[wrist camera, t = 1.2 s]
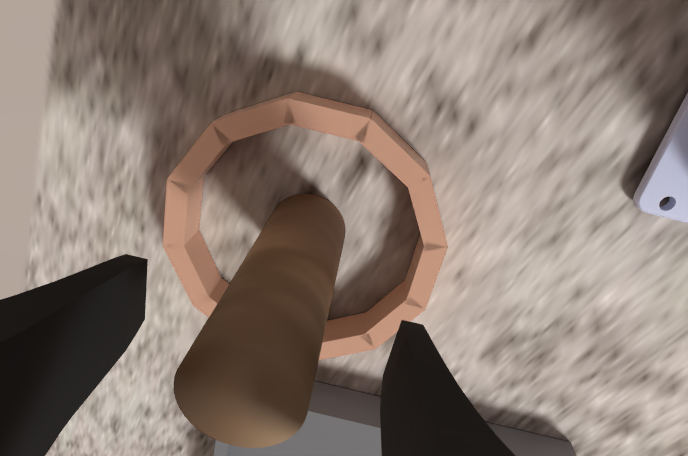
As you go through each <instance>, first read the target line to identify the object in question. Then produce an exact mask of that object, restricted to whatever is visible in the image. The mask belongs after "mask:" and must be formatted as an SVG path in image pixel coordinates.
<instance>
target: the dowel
mask: <svg viewBox="0 0 688 456" xmlns="http://www.w3.org/2000/svg"><path fill="white" fill-rule="evenodd" d="M344 238H345V223H344V220H343V217H342V215H341V214H340V212H339V210H338V209H337V208H336V207H335V206H334V205H333V204H332V203H331V202H329V201H328V200H326V199H325V198H322V197H320V196H317V195H313V194H297V195H293V196H290V197H288V198H286V199H285V200H283V201H282V202H281V203H280V204H279V205H278V206H277V207H276V208H275V210H274V212H273V213H272V215H271V217H270V218H269V220H268V222H267V223H266V225H265V226H264V228H263V230H262V231H261V233H260V235H259V236H258V238H257V240H256V241H255V243H254V245H253V246H252V248H251V249H250V251H249V253H248V254H247V256H246V258H245V259H244V261H243V263H242V264H241V266H240V267H239V269H238V271H237V272H236V274H235V276H234V277H233V279H232V281H231V282H230V284H229V285H228V287H227V289H226V290H225V292H224V294H223V295H222V297H221V299H220V300H219V302H218V304H217V305H216V307H215V308H214V310H213V312H212V313H211V315H210V317H209V318H208V320H207V322H206V323H205V325H204V326H203V328H202V330H201V331H200V333H199V335H198V336H197V338H196V340H195V341H194V343H193V345H192V346H191V348H190V349H189V351H188V353H187V354H186V356H185V358H184V359H183V361H182V363H181V364H180V366H179V368H178V369H177V372H176V374H175V378H174V394H175V398H176V401H177V404H178V406H179V408H180V410H181V411H182V413H183V414H184V416H185V417H186V418H187V419H188V420H189V421H190V422H191V423H192V424H193V425H194V426H195V427H196V428H197V429H199V430H200V431H201V432H203V433H204V434H206V435H208V436H209V437H211V438H213V439H215V440H217V441H220V442H223V443H225V444H229V445H232V446H238V447H245V448H261V447H268V446H273V445H276V444H279V443H281V442H283V441H285V440H287V439H289V438H290V437H292V436H293V435H294V434H295V433H296V432H298V430H299V429H300V428H301V427H302V425H303V423H304V421H305V419H306V416H307V413H308V408H309V403H310V399H311V394H312V389H313V385H314V380H315V375H316V370H317V366H318V361H319V356H320V352H321V347H322V342H323V337H324V333H325V328H326V323H327V319H328V314H329V309H330V304H331V300H332V295H333V290H334V286H335V281H336V276H337V271H338V267H339V262H340V257H341V252H342V248H343V243H344Z"/></svg>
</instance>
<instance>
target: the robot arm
mask: <svg viewBox="0 0 688 456" xmlns="http://www.w3.org/2000/svg"><path fill="white" fill-rule="evenodd" d="M665 197H670V199H669V202H668V203H667V204H666V205H664V206H659V204H660V201H661V200H662V199H663V198H665ZM633 201H634V204H635V206H636V207H637V208H638V209H640V210H641V211H643V212H645V213H649V214H653V215H657V216H661V217H665V218H670V219H674V220H678V221H682V222H686V223H688V93H687V95H686V96H685V98H684V100H683V102H682V104H681V106H680V108H679V110H678V112H677V114H676V116H675V117H674V119H673V121H672V123H671V125H670V127H669V129H668V131H667V133H666V135H665V136H664V138H663V140H662V142H661V144H660V146H659V148H658V150H657V152H656V154H655V156H654V157H653V159H652V161H651V163H650V165H649V167H648V169H647V171H646V173H645V175H644V176H643V178H642V180H641V182H640V184H639V186H638V188H637V190H636V192H635V194H634V197H633ZM147 260H148V259H144V258H140V257H135V256H131V255H127V254H125V255H122V256H119V257H116V258H113V259H111V260H108V261H106V262H103V263H101V264H98V265H95V266H93V267H90V268H88V269H86V270H83V271H80V272H78V273H75V274H73V275H70V276H68V277H65V278H63V279H60V280H57V281H55V282H52V283H49V284H46V285H43V286H40V287H38V288H35V289H32V290H29V291H26V292H23V293H20V294H18V295H15V296H11V297H8V298H5V299H2V300H0V456H45V455H46V453H47V452H48V450H49V449H50V447H51V446H52V444H53V443H54V441H55V440H56V438H57V437H58V435H59V434H60V432H61V431H62V429H63V428H64V427H65V425H66V424H67V423H68V421H69V420H70V419H71V417H72V416H73V415H74V413H75V412H76V411H77V410H78V409H79V407H80V406H81V405H82V404H83V402H84V401H85V400H86V399H87V398H88V396H89V395H90V394H91V393H92V391H93V390H94V389H95V388H96V387H97V385H98V384H99V383H100V382H101V380H102V379H103V378H104V377H105V376H106V374H107V373H108V372H109V371H110V369H111V368H112V367H113V366H114V364H115V363H116V362H117V361H118V359H119V358H120V357H121V356H122V354H123V353H124V352H125V351H126V349H127V348H128V346H129V345H130V343H131V341H132V340H133V338H134V337H135V335H136V333H137V332H138V330H139V328H140V326H141V325H142V323H143V321H144V320H145V303H146V281H147ZM380 426H381V453H382V456H515V455H514V454H513V452H512V451H511V450H510V449H509V448H508V447H507V446H506V445H505V444H504V443H503V442H502V441H501V440H500V438H499V437H498V436H497V435H496V434H495V433H494V431H493V430H492V429H491V428H490V427H489V425H488V424H487V423H486V422H485V421H484V419H483V418H482V417H481V416H480V414H479V413H478V412H477V411H476V409H475V408H474V407H473V405H472V404H471V402H470V401H469V400H468V398H467V397H466V395H465V394H464V393H463V391H462V390H461V388H460V387H459V385H458V384H457V382H456V381H455V379H454V377H453V376H452V374H451V373H450V371H449V369H448V368H447V366H446V364H445V363H444V361H443V359H442V358H441V356H440V354H439V352H438V351H437V349H436V347H435V345H434V343H433V342H432V340H431V338H430V336H429V334H428V333H427V331H426V329H425V327H424V326H423V325H422V324H417V323H413V322H409V321H405V320H401V323H400V326H399V329H398V332H397V335H396V338H395V341H394V344H393V347H392V350H391V353H390V356H389V359H388V362H387V365H386V368H385V371H384V374H383V380H382V390H381V402H380Z"/></svg>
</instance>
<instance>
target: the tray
mask: <svg viewBox="0 0 688 456" xmlns="http://www.w3.org/2000/svg"><path fill="white" fill-rule="evenodd" d="M380 402H381V397H379V396H375V395H371V394H366V393H362V392H358V391H354V390H350V389H346V388H341V387H337V386H333V385H329V384H325V383H320V382H316V381H314V385H313V389H312V394H311V399H310V403H309V408H308V413H307V416H306V419H305V421H304V423H303V425H302V427H301V428H300V429H299V430H298V432H296V433H295V434H294V435H293V436H292V437H290V438H289V439H287V440H285V441H283V442H281V443H279V444H276V445H273V446H268V447H261V448H245V447H238V446H232V445H229V444H225V443H223V442H220V441H217V440H216V441H215V448H214V454H213V456H382V453H381V426H380ZM486 423H487V424H488V425H489V427H490V428H491V429H492V430H493V431H494V433H495V434H496V435H497V436H498V437H499V438H500V440H501V441H502V442H503V443H504V444H505V445H506V446H507V447H508V448H509V449H510V450H511V451H512V452H513V454H514V455H515V456H576V454H575V451H574V449H573V447H572V444H571V442H567V441H563V440H559V439H555V438H550V437H546V436H542V435H538V434H534V433H529V432H525V431H521V430H517V429H513V428H509V427H504V426H500V425H496V424H492V423H488V422H486Z"/></svg>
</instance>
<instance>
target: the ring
mask: <svg viewBox="0 0 688 456" xmlns="http://www.w3.org/2000/svg"><path fill="white" fill-rule="evenodd" d="M289 124H291V125H295V126H299V127H303V128H307V129H312V130H316V131H320V132H324V133H328V134H332V135H336V136H340V137H344V138H349V139H353V140H357V141H359V142H360V143H361V144H362V145H363V146H364V147H365V148H367V149H368V150H369V151H370V152H371V153H372V154H373V155H374V156H375V157H376V158H377V159H378V160H379V161H380V162H381V163H382V164H384V165H385V166H386V167H387V168H388V169H389V170H390V171H391V172H392V173H393V174H394V175H395V176H396V177H397V178H398V179H399V180H400V181H402V182H403V183H404V184H405V185H406V186H407V187H408V189H409V193H410V196H411V200H412V204H413V208H414V211H415V215H416V219H417V222H418V226H419V230H420V236H419V239H418V242H417V245H416V248H415V251H414V254H413V257H412V261H411V264H410V267H409V270H408V273H407V276H406V279H405V280H404V281H403V282H402V283H401V284H399V285H398V286H397V287H396V288H395V289H393V290H392V291H391V292H390V293H389V294H387V295H386V296H385V297H384V298H383V299H381V300H380V301H379V302H378V303H377V304H376V305H374V306H373V307H372V308H371V309H370V310H368V311H367V312H366V313H361V314H356V315H351V316H347V317H342V318H337V319H332V320H327V323H326V328H325V333H324V337H323V342H322V347H321V352H320V356H319V360H321V359H326V358H332V357H337V356H342V355H347V354H353V353H358V352H363V351H368V350H373V349H376V348H377V347H378V346H380V345H381V344H382V343H384V342H385V341H386V340H387V339H389V338H390V337H391V336H392V335H394V334H395V333H396V332H397V331H398V329H399V326H400V323H401V320H405V321H409V322H410V321H411V320H413V319H414V318H415V317H416V316H418V315H419V314H420V313H421V312H423V311H424V310H425V309H426V306H427V304H428V301H429V298H430V295H431V292H432V290H433V287H434V284H435V281H436V279H437V276H438V273H439V270H440V267H441V265H442V262H443V259H444V256H445V254H446V251H447V248H448V246H447V242H446V237H445V233H444V229H443V225H442V221H441V217H440V213H439V209H438V205H437V201H436V197H435V193H434V189H433V185H432V181H431V177H430V173H429V169H428V165H427V163H426V162H425V161H424V160H423V159H422V158H421V157H420V156H419V155H418V154H417V153H416V152H415V151H414V150H413V149H412V148H411V147H410V146H409V145H408V144H407V143H406V142H405V141H404V140H403V139H402V138H401V137H400V136H399V135H398V134H397V133H396V132H394V131H393V130H392V129H391V128H390V127H389V126H388V125H387V124H386V123H385V122H384V121H383V120H382V119H381V118H380V117H379V116H378V115H377V114H376V113H375V112H374V111H372V110H370V109H366V108H362V107H358V106H354V105H349V104H345V103H341V102H337V101H333V100H329V99H325V98H321V97H317V96H313V95H309V94H304V93H300V92H293V93H290V94H287V95H284V96H281V97H278V98H274V99H271V100H268V101H265V102H262V103H259V104H256V105H253V106H249V107H246V108H243V109H240V110H237V111H234V112H231V113H228V114H225V115H223V116H222V117H220V118H218V119H217V120H215V121H213V122H211V123H210V125H209V126H208V127H207V128H206V130H205V131H204V132H203V134H202V135H201V136H200V137H199V139H198V140H197V141H196V142H195V144H194V145H193V146H192V148H191V149H190V150H189V151H188V153H187V154H186V155H185V157H184V158H183V159H182V160H181V162H180V163H179V164H178V165H177V167H176V168H175V169H174V171H173V172H172V173H171V174H170V176H169V177H168V178H167V186H166V202H165V218H164V235H163V247H164V249H165V251H166V253H167V255H168V257H169V259H170V261H171V263H172V265H173V267H174V269H175V271H176V273H177V275H178V277H179V279H180V281H181V283H182V285H183V287H184V289H185V291H186V293H187V295H188V297H189V298H190V300H191V302H192V304H193V305H194V307H196V308H197V309H198V310H200V311H201V312H202V313H204V314H205V315H206V316H208V317H210V315H211V313H212V312H213V310H214V308H215V307H216V305H217V304H218V302H219V300H220V299H221V297H222V295H223V294H224V292H225V290H226V289H227V287H228V285H229V283H228V282H226V281H225V280H224V279H223V278H221V276H220V273H219V271H218V269H217V267H216V265H215V263H214V261H213V259H212V256H211V254H210V252H209V250H208V248H207V246H206V244H205V242H204V239H203V237H202V235H201V233H200V231H199V224H200V213H201V203H202V193H203V182H204V176H205V175H206V174H207V173H208V171H209V170H210V169H211V168H212V167H213V165H214V164H215V163H216V162H217V160H218V159H219V158H220V157H221V156H222V154H223V153H224V152H225V151H226V150H227V148H228V147H229V146H230V145H231V144H232V142H233V141H237V140H240V139H243V138H246V137H250V136H253V135H256V134H260V133H263V132H266V131H269V130H273V129H276V128H279V127H283V126H286V125H289Z"/></svg>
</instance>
